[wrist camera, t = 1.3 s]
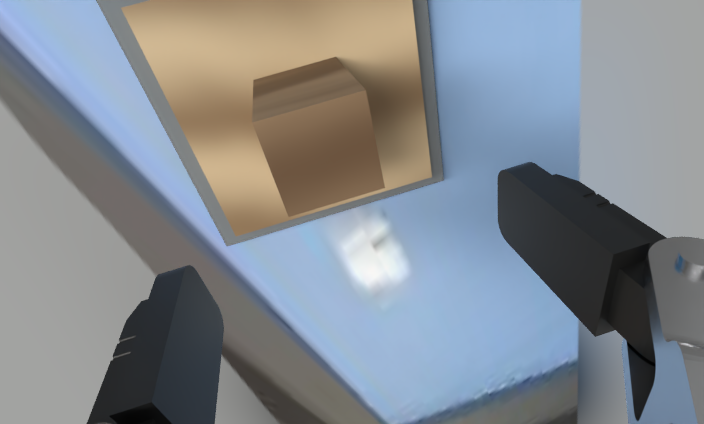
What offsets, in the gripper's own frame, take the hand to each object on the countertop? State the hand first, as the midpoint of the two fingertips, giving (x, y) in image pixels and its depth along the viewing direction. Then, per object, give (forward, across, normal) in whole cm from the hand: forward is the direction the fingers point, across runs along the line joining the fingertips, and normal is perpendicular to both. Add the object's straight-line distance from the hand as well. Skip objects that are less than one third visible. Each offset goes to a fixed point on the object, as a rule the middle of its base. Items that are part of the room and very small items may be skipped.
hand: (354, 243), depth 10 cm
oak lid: (+12, 0, 0) cm, 12 cm away
